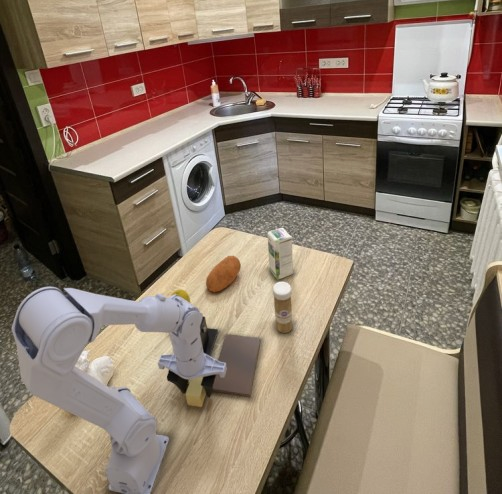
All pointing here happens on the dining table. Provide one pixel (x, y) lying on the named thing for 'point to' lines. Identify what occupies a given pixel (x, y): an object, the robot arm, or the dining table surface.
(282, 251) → the syrup box
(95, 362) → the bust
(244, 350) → the board
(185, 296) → the lemon
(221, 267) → the potato
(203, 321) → the slicer
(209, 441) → the dining table surface
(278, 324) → the sprinkles bottle
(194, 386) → the butter
